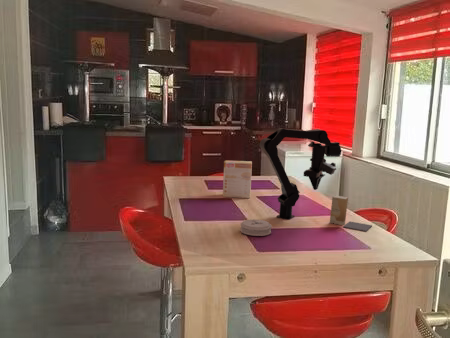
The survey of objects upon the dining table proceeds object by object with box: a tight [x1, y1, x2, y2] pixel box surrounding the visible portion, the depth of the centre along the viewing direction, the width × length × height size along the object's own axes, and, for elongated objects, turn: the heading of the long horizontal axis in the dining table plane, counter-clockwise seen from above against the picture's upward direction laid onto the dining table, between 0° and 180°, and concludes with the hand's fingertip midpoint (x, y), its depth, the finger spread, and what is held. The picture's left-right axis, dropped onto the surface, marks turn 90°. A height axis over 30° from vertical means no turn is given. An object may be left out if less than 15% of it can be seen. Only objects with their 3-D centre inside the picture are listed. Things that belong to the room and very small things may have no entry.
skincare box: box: [329, 195, 349, 226], centre depth 203 cm, size 6×4×12 cm
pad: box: [342, 221, 373, 233], centre depth 199 cm, size 10×10×1 cm
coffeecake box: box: [222, 159, 253, 199], centre depth 247 cm, size 15×7×20 cm, turn 84°
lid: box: [240, 218, 272, 237], centre depth 185 cm, size 13×13×5 cm
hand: (315, 189), depth 212 cm, fingers closed
